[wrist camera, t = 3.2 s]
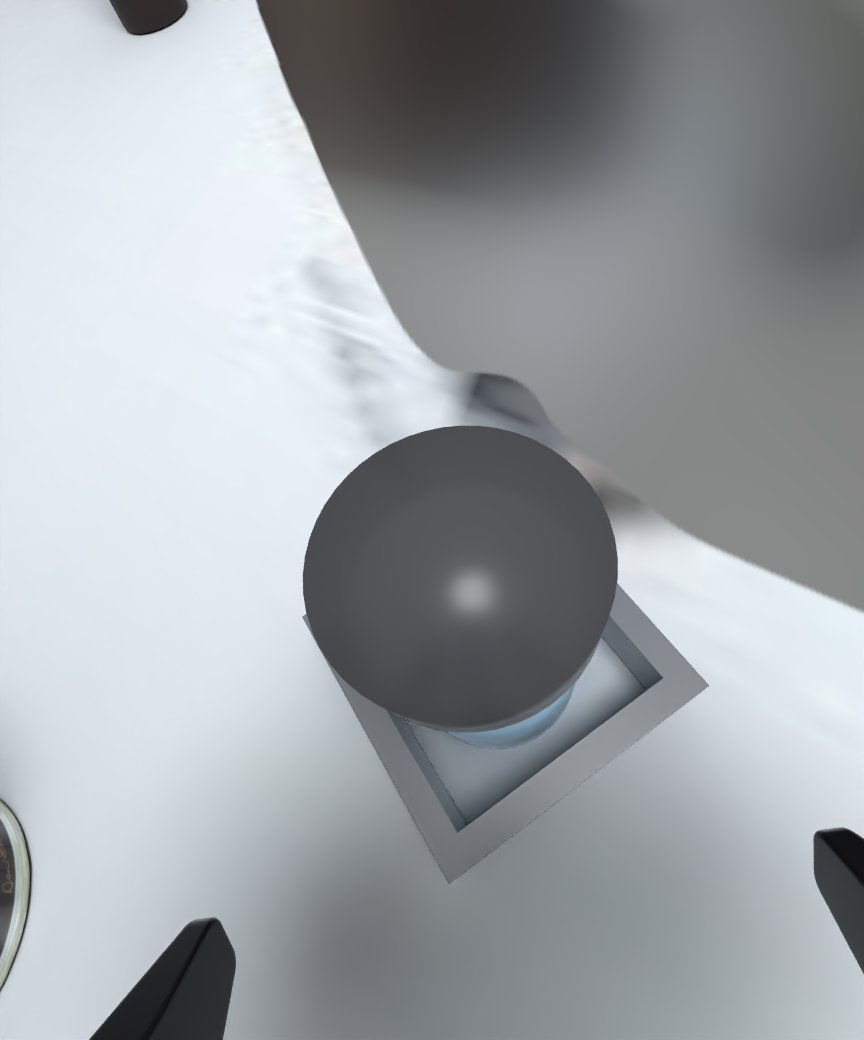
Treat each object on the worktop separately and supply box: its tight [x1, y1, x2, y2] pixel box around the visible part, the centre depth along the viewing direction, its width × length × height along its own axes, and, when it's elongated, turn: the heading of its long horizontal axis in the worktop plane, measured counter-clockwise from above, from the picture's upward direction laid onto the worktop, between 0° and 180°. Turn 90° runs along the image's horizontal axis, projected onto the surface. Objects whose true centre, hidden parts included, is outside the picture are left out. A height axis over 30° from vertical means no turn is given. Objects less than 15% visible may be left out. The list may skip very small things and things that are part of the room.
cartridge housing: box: [303, 584, 709, 884], centre depth 21 cm, size 10×10×3 cm
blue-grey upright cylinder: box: [303, 426, 618, 749], centre depth 17 cm, size 7×7×12 cm
